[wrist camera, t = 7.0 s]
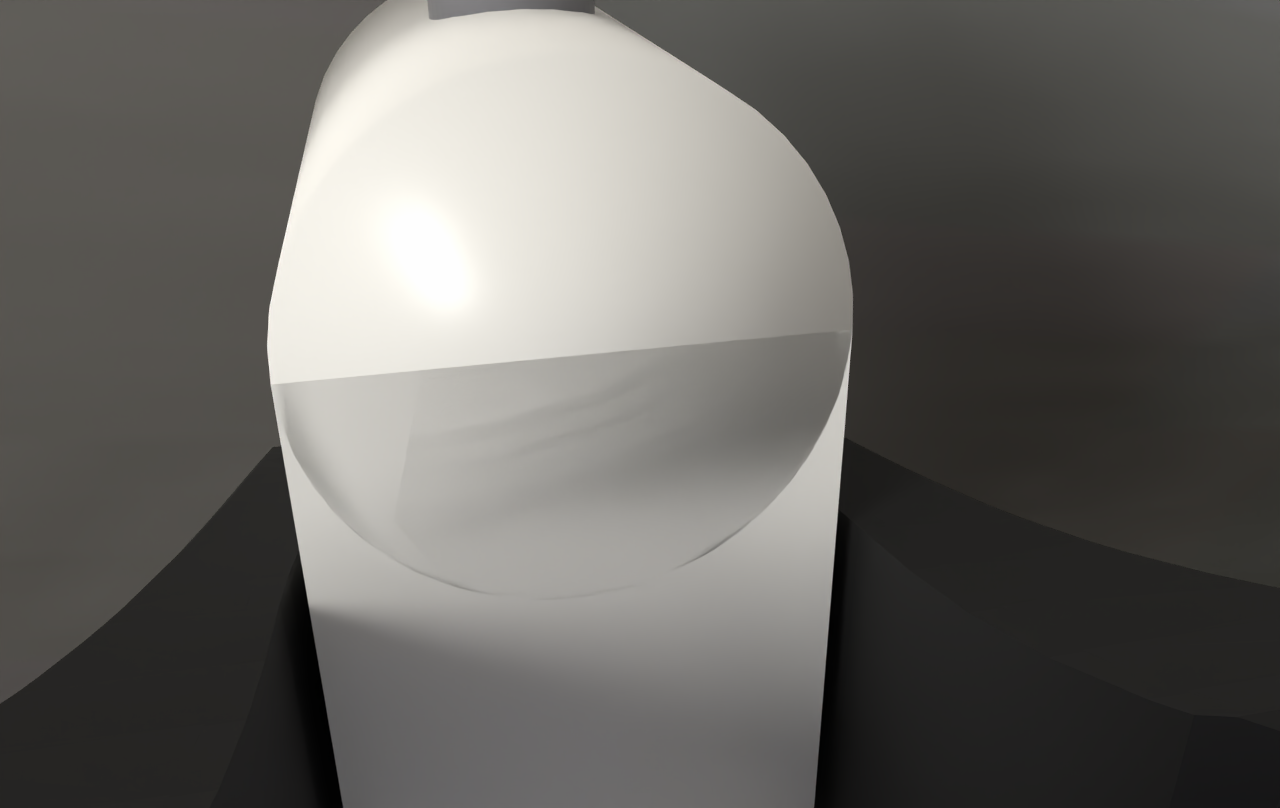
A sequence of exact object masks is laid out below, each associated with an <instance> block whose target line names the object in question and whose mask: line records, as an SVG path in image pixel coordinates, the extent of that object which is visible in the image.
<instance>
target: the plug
mask: <svg viewBox="0 0 1280 808" xmlns="http://www.w3.org/2000/svg"><path fill="white" fill-rule="evenodd" d="M852 330H853V291H852V283H851V274H850V266H849V260H848V256H847V252H846V248H845V245H844V241H843V237H842V233H841V229H840V226H839V224H838V222H837V219H836V217H835V214H834V212H833V210H832V207H831V205H830V203H829V200H828V198H827V196H826V194H825V192H824V190H823V189H822V187H821V185H820V184H819V182H818V180H817V179H816V177H815V175H814V174H813V172H812V171H811V169H810V167H809V166H808V164H807V163H806V161H805V160H804V159H803V158H802V157H801V155H800V154H799V153H798V152H797V151H796V149H795V148H794V147H793V146H792V144H791V143H790V142H789V141H788V140H787V138H786V137H785V136H784V135H783V134H782V133H781V132H780V131H779V130H778V129H776V128H775V127H774V126H773V125H772V124H771V123H770V122H769V121H768V120H766V119H765V118H764V117H763V116H762V115H761V114H760V113H759V112H758V111H757V110H755V109H754V108H752V107H751V106H749V105H748V104H746V103H745V102H743V101H742V100H740V99H739V98H737V97H736V96H734V95H733V94H731V93H730V92H728V91H727V90H725V89H724V88H722V87H721V86H719V85H718V84H716V83H715V82H713V81H711V80H710V79H708V78H707V77H705V76H704V75H702V74H701V73H699V72H697V71H696V70H694V69H693V68H691V67H690V66H688V65H686V64H685V63H683V62H682V61H680V60H679V59H677V58H675V57H674V56H672V55H671V54H669V53H668V52H666V51H664V50H663V49H661V48H660V47H658V46H657V45H655V44H653V43H652V42H650V41H649V40H647V39H646V38H644V37H643V36H641V35H639V34H638V33H636V32H635V31H633V30H632V29H630V28H628V27H627V26H625V25H624V24H622V23H621V22H619V21H617V20H616V19H614V18H613V17H611V16H610V15H608V14H606V13H605V12H603V11H602V10H600V9H599V8H597V7H595V5H594V0H387V1H385V2H384V3H383V4H382V5H380V6H379V7H378V8H377V9H375V10H374V11H373V12H371V13H370V14H369V15H368V16H367V17H366V18H365V19H364V20H363V21H362V22H361V23H360V24H359V25H358V26H357V27H356V28H355V29H354V30H353V31H352V32H351V33H350V35H349V36H348V37H347V39H346V40H345V42H344V43H343V44H342V46H341V47H340V48H339V50H338V51H337V53H336V54H335V56H334V58H333V60H332V62H331V64H330V66H329V68H328V70H327V71H326V73H325V75H324V78H323V81H322V84H321V86H320V89H319V92H318V95H317V98H316V102H315V106H314V110H313V115H312V119H311V124H310V128H309V132H308V137H307V141H306V146H305V150H304V154H303V159H302V163H301V168H300V172H299V176H298V181H297V185H296V190H295V194H294V198H293V203H292V207H291V212H290V216H289V220H288V225H287V229H286V234H285V238H284V242H283V247H282V251H281V256H280V260H279V264H278V269H277V273H276V278H275V283H274V288H273V293H272V298H271V303H270V308H269V324H268V342H267V350H268V360H269V371H270V381H271V389H272V394H273V400H274V406H275V412H276V418H277V424H278V430H279V435H280V441H281V447H282V453H283V459H284V465H285V470H286V476H287V482H288V488H289V494H290V500H291V505H292V511H293V517H294V523H295V529H296V535H297V540H298V546H299V552H300V558H301V564H302V570H303V576H304V581H305V587H306V593H307V599H308V605H309V611H310V616H311V622H312V628H313V634H314V640H315V646H316V651H317V657H318V663H319V669H320V675H321V681H322V687H323V692H324V698H325V704H326V710H327V716H328V722H329V727H330V733H331V739H332V745H333V751H334V757H335V762H336V768H337V774H338V780H339V786H340V792H341V797H342V803H343V808H814V802H815V790H816V777H817V765H818V752H819V740H820V727H821V715H822V703H823V690H824V678H825V665H826V653H827V640H828V628H829V616H830V603H831V591H832V578H833V566H834V553H835V541H836V529H837V516H838V504H839V491H840V479H841V466H842V454H843V442H844V429H845V417H846V404H847V392H848V379H849V367H850V355H851V342H852Z"/></svg>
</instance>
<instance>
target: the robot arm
mask: <svg viewBox="0 0 1280 808" xmlns="http://www.w3.org/2000/svg"><path fill="white" fill-rule="evenodd" d="M0 808H343V803H342V797H341V792H340V786H339V780H338V774H337V768H336V762H335V757H334V751H333V745H332V739H331V733H330V727H329V722H328V716H327V710H326V704H325V698H324V692H323V687H322V681H321V675H320V669H319V663H318V657H317V651H316V646H315V640H314V634H313V628H312V622H311V616H310V611H309V605H308V599H307V593H306V587H305V581H304V576H303V570H302V564H301V558H300V552H299V546H298V540H297V535H296V529H295V523H294V517H293V511H292V505H291V500H290V494H289V488H288V482H287V476H286V470H285V465H284V459H283V453H282V447H273V448H272V449H271V450H270V451H269V452H268V453H267V454H266V455H265V457H264V458H263V459H262V460H261V461H260V462H259V463H258V464H257V465H256V467H255V468H254V469H253V470H252V471H251V472H250V473H249V475H248V476H247V477H246V478H245V479H244V481H243V482H242V483H241V484H240V485H239V486H238V488H237V489H236V490H235V491H234V492H233V494H232V495H231V496H230V497H229V498H228V499H227V501H226V502H225V503H224V504H223V505H222V506H221V508H220V509H219V510H218V511H217V512H216V513H215V515H214V516H213V517H212V518H211V519H210V520H209V521H208V522H207V524H206V525H205V526H204V527H203V528H202V529H201V530H200V531H199V532H198V533H197V534H196V536H195V537H194V538H193V539H192V540H191V541H190V542H189V543H188V544H187V545H186V547H185V548H184V549H183V550H182V551H181V552H180V553H179V554H178V555H177V556H176V557H175V558H174V559H173V560H172V561H171V562H170V563H169V564H168V565H167V566H166V567H165V568H164V569H163V570H162V571H161V572H160V573H159V574H158V575H157V576H156V577H155V578H153V579H152V580H151V581H150V582H149V583H148V584H147V585H146V586H145V587H144V588H143V589H142V590H141V591H140V592H139V593H138V594H137V595H136V596H135V597H134V598H133V599H132V600H131V601H130V602H129V603H128V604H127V605H126V606H125V607H124V608H123V609H121V610H120V611H119V612H118V613H117V614H116V615H115V616H113V617H112V618H111V619H110V620H109V621H108V622H107V623H106V624H104V625H103V626H102V627H101V628H100V629H98V630H97V631H96V632H95V633H94V634H92V635H91V636H90V637H89V638H88V639H86V640H85V641H84V642H83V643H82V644H80V645H79V646H78V647H77V648H75V649H74V650H73V651H71V652H70V653H69V654H68V655H66V656H65V657H64V658H62V659H61V660H60V661H59V662H57V663H56V664H55V665H53V666H52V667H51V668H49V669H48V670H47V671H46V672H44V673H43V674H42V675H40V676H39V677H38V678H37V679H35V680H34V681H32V682H31V683H30V684H28V685H27V686H26V687H24V688H23V689H22V690H20V691H19V692H17V693H16V694H14V695H13V696H11V697H10V698H8V699H7V700H5V701H4V702H2V703H1V704H0ZM814 808H1280V588H1277V587H1271V586H1265V585H1261V584H1256V583H1251V582H1247V581H1242V580H1237V579H1232V578H1228V577H1223V576H1218V575H1214V574H1209V573H1205V572H1201V571H1197V570H1193V569H1189V568H1185V567H1181V566H1177V565H1174V564H1170V563H1166V562H1162V561H1158V560H1154V559H1150V558H1146V557H1142V556H1138V555H1135V554H1131V553H1127V552H1124V551H1120V550H1117V549H1114V548H1110V547H1107V546H1103V545H1100V544H1097V543H1093V542H1090V541H1087V540H1084V539H1081V538H1078V537H1075V536H1072V535H1069V534H1066V533H1063V532H1061V531H1058V530H1055V529H1052V528H1049V527H1046V526H1043V525H1040V524H1037V523H1034V522H1031V521H1028V520H1026V519H1023V518H1020V517H1017V516H1015V515H1012V514H1010V513H1007V512H1004V511H1002V510H999V509H997V508H994V507H992V506H989V505H987V504H984V503H982V502H980V501H977V500H975V499H973V498H970V497H968V496H966V495H964V494H961V493H959V492H957V491H954V490H952V489H950V488H947V487H945V486H943V485H940V484H938V483H936V482H934V481H932V480H929V479H927V478H925V477H923V476H921V475H919V474H917V473H915V472H912V471H910V470H908V469H906V468H904V467H902V466H900V465H898V464H896V463H894V462H892V461H890V460H888V459H886V458H884V457H882V456H880V455H878V454H876V453H874V452H872V451H870V450H868V449H866V448H864V447H862V446H860V445H858V444H856V443H854V442H852V441H850V440H848V439H846V438H845V437H844V442H843V454H842V466H841V479H840V491H839V504H838V516H837V529H836V541H835V553H834V566H833V578H832V591H831V603H830V616H829V628H828V640H827V653H826V665H825V678H824V690H823V703H822V715H821V727H820V740H819V752H818V765H817V777H816V790H815V802H814Z"/></svg>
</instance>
